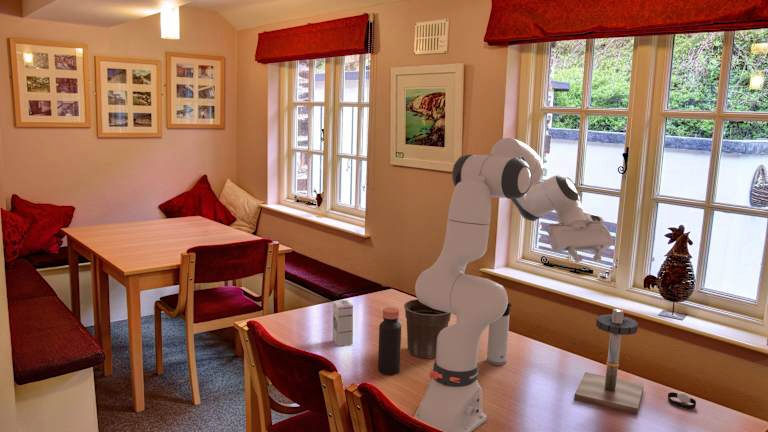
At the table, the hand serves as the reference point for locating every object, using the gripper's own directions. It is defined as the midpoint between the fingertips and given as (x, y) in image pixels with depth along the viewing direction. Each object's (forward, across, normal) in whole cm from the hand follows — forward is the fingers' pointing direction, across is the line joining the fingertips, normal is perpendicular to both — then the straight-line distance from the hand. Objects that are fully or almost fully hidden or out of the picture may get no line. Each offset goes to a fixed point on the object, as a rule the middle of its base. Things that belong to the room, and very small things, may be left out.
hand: (588, 260), depth 195 cm
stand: (+38, 0, +14) cm, 40 cm away
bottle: (+18, -59, +34) cm, 71 cm away
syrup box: (0, -69, +52) cm, 86 cm away
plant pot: (+9, -43, +43) cm, 61 cm away
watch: (+44, +17, +8) cm, 48 cm away
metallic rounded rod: (+36, 0, +12) cm, 38 cm away
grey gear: (+23, 0, -1) cm, 23 cm away
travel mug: (+17, -23, +34) cm, 45 cm away
